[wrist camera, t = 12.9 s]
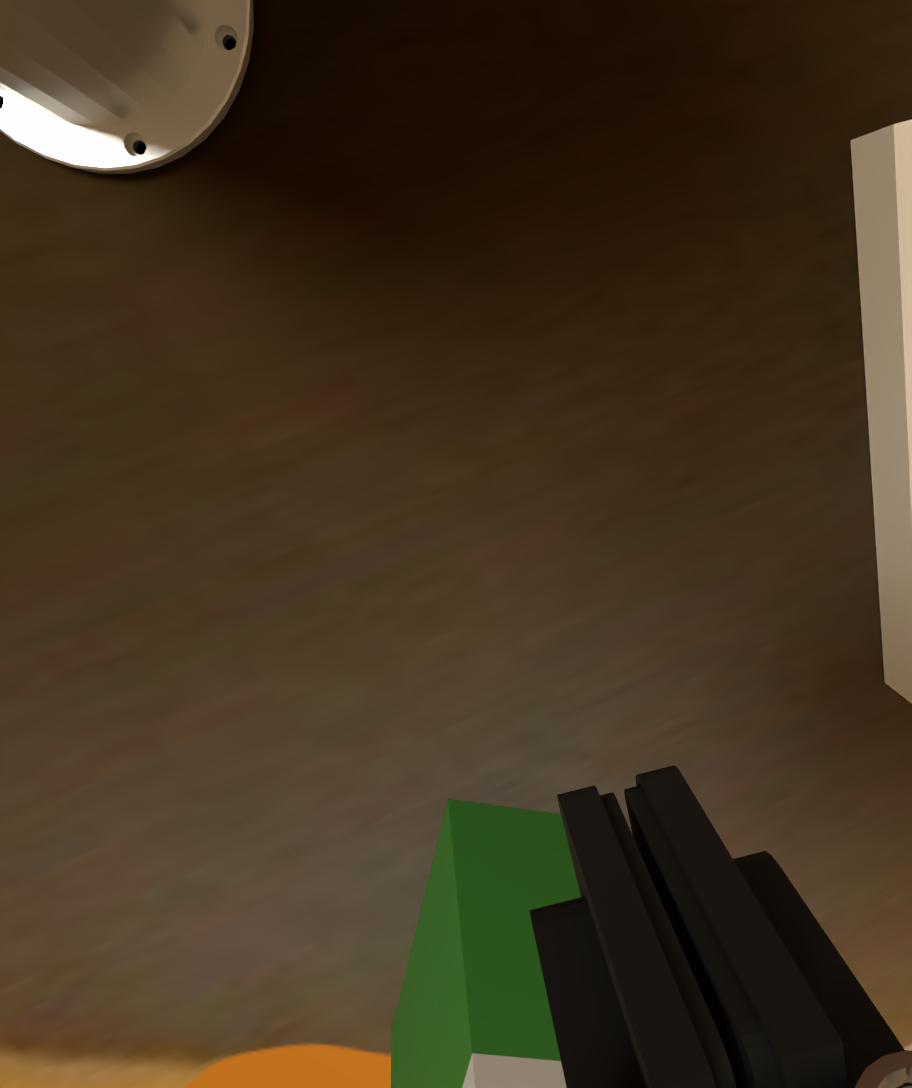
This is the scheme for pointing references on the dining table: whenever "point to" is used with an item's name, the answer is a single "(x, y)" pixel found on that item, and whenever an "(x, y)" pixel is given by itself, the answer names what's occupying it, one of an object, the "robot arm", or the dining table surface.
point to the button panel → (888, 373)
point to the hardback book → (483, 955)
